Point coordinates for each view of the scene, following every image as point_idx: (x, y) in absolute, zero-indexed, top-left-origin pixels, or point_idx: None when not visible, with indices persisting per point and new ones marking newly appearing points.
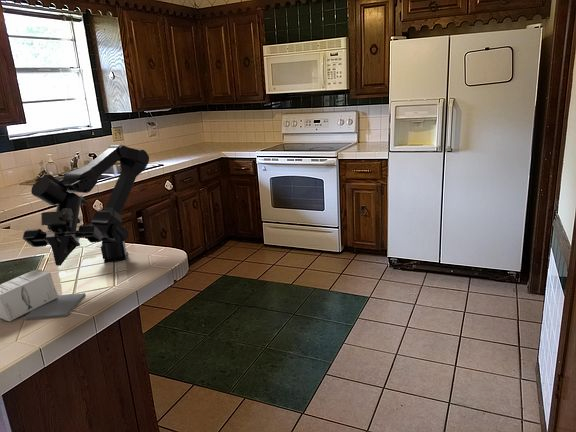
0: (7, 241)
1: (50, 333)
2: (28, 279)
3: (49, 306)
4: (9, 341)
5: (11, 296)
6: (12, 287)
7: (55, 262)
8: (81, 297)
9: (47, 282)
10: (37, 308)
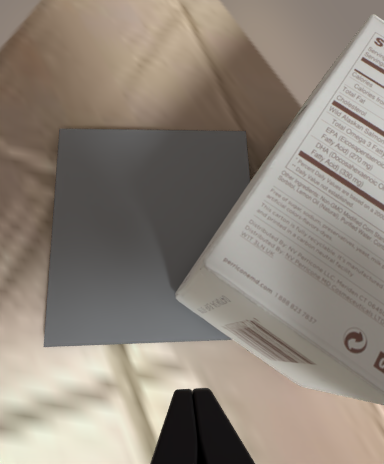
0: None
1: (77, 24)
2: (326, 177)
3: (182, 214)
4: (206, 4)
5: (326, 74)
6: (361, 85)
7: (215, 403)
8: (48, 294)
9: (212, 241)
10: (234, 203)
